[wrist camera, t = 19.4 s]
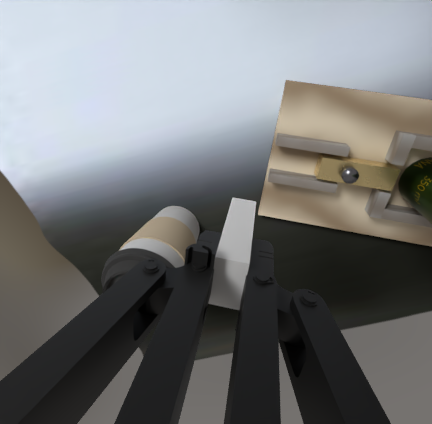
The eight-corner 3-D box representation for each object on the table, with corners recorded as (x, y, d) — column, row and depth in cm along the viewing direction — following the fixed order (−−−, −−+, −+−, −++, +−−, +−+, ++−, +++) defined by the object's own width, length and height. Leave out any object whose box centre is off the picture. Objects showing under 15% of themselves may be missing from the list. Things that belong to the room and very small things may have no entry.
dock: (286, 80, 31) (287, 80, 28) (526, 112, 29) (554, 117, 26) (258, 210, 38) (257, 221, 35) (448, 245, 36) (463, 260, 33)
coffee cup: (215, 212, 39) (188, 284, 26) (197, 261, 44) (165, 344, 30) (154, 189, 39) (96, 249, 26) (141, 240, 44) (86, 314, 30)
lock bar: (319, 152, 32) (324, 160, 29) (392, 163, 32) (405, 173, 29) (313, 172, 33) (318, 182, 30) (384, 184, 33) (396, 195, 30)
